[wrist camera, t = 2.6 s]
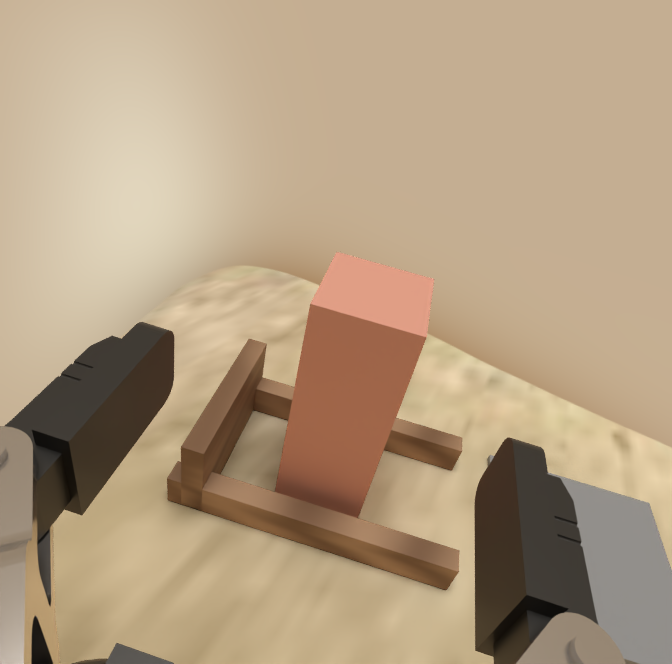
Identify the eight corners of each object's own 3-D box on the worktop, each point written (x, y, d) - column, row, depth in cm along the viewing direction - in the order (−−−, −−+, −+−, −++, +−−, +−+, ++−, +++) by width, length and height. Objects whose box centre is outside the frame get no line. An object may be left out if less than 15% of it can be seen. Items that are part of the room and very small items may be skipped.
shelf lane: (452, 456, 34) (478, 406, 31) (446, 590, 27) (479, 541, 24) (232, 389, 35) (237, 335, 32) (167, 499, 28) (166, 442, 25)
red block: (369, 457, 33) (434, 279, 25) (355, 523, 29) (426, 337, 21) (297, 435, 33) (336, 251, 25) (273, 497, 29) (310, 303, 21)
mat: (645, 506, 34) (649, 503, 34) (705, 689, 25) (710, 686, 25) (487, 458, 35) (490, 455, 35) (492, 620, 26) (495, 616, 26)
